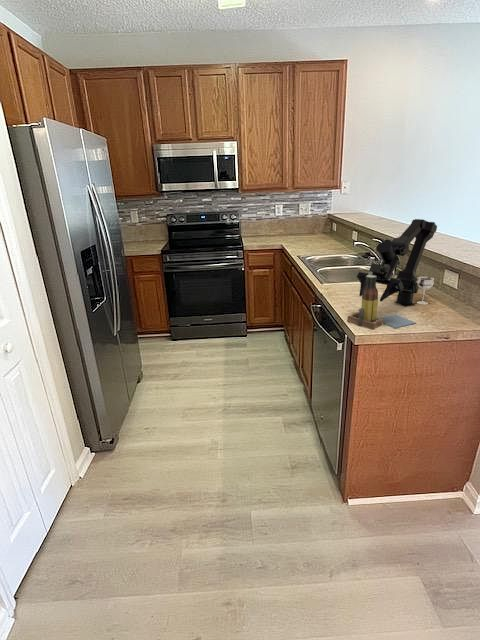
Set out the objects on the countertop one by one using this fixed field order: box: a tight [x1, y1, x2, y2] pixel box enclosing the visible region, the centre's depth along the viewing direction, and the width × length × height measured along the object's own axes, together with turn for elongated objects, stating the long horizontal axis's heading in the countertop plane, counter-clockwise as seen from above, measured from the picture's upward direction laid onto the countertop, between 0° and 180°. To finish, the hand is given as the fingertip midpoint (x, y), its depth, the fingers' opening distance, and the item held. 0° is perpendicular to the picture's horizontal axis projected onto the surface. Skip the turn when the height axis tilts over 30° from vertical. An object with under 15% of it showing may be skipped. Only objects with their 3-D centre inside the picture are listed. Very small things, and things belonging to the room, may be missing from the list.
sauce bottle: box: [361, 274, 379, 322], centre depth 150 cm, size 6×6×20 cm
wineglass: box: [416, 275, 435, 306], centre depth 171 cm, size 7×7×12 cm
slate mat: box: [376, 313, 417, 329], centre depth 153 cm, size 11×11×1 cm
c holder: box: [346, 308, 384, 330], centre depth 151 cm, size 8×12×7 cm, turn 41°
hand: (370, 298), depth 150 cm, fingers open, 9 cm apart
